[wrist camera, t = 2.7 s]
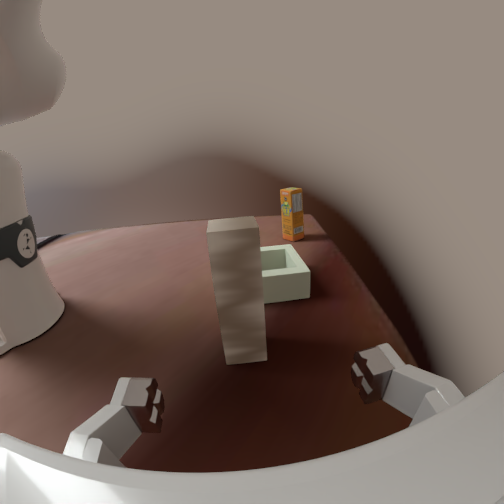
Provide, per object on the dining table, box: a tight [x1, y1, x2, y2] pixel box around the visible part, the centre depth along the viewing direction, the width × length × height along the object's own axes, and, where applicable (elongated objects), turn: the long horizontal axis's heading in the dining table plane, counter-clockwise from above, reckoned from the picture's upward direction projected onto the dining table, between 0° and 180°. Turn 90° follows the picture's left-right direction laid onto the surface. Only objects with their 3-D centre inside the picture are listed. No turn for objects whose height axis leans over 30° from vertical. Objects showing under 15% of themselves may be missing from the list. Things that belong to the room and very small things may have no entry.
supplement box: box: [280, 187, 304, 242], centre depth 53 cm, size 3×3×10 cm
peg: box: [206, 216, 267, 365], centre depth 22 cm, size 4×4×12 cm
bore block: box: [260, 244, 310, 304], centre depth 36 cm, size 9×10×4 cm
